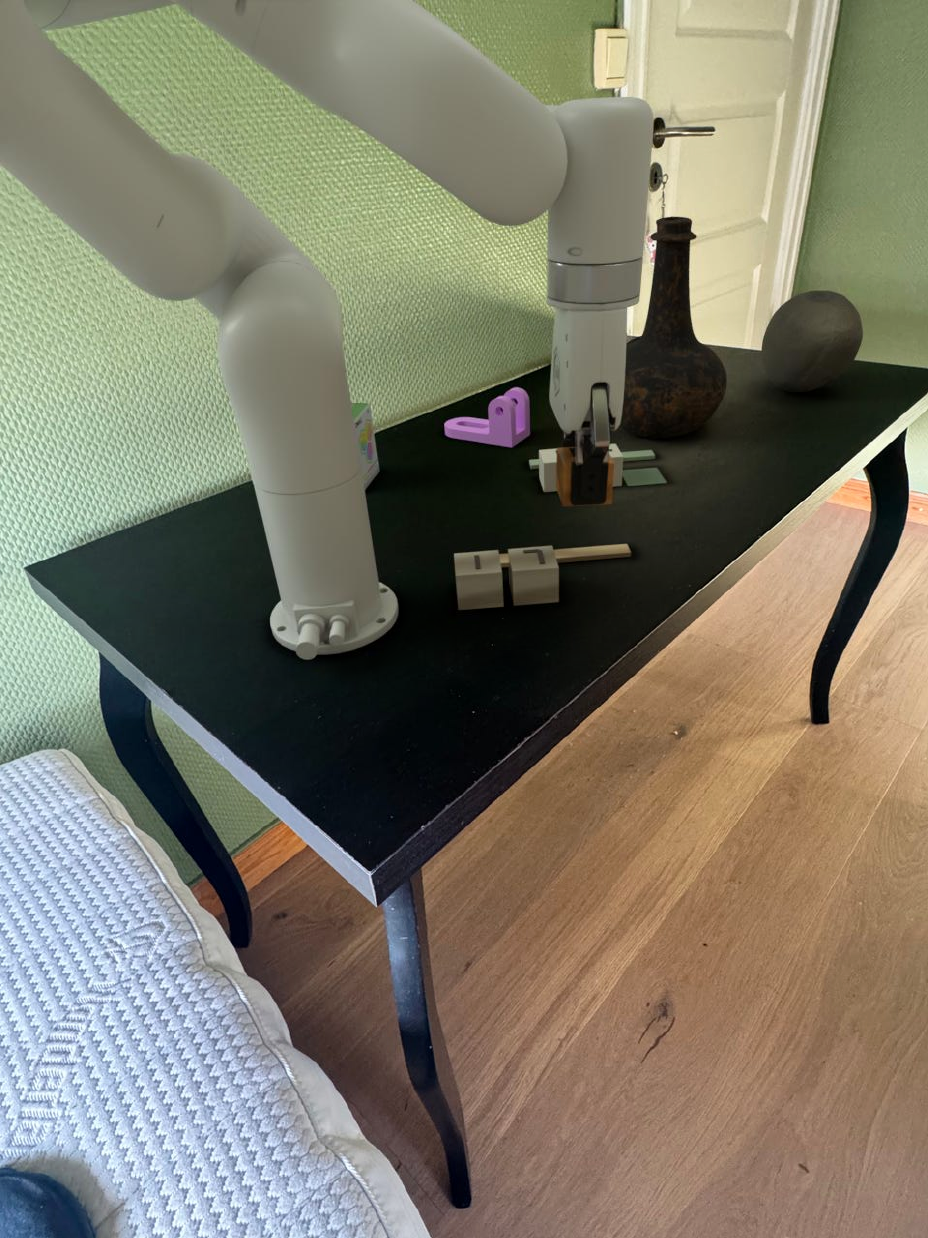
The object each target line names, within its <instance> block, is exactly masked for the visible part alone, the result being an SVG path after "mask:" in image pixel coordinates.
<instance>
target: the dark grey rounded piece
mask: <svg viewBox="0 0 928 1238" xmlns="http://www.w3.org/2000/svg"><path fill="white" fill-rule="evenodd" d="M863 337H864V330H863V322H862V318H861V314H860V313H859V310H857V308H856V306H855V305H854V304H853V303H852V301H851V300H849V299H848V298H847V297H846V296H844V295H843V294H841V293H839V292H835V291H832V290H808V291H805V292H801V293H799V294H798V293H797V294H796V295H794V296H792V297H791V298H790V299H788V300H786V301H785V302H784V303H782V305H781V306H780V307H778V309H777V310H776V311H775V312H774V313H773V315H772V316H771V318H770V320H769V322H768V324H767V326H766V328H765V331H764V335H763V337H762V341H761V348H760V349H761V351H760V352H761V353H760V355H761V361H762V366H763V369H764V371H765V374H766V375H767V378H768V379H769V380H770V382H771V383H772V384H773V385H774V386H775V387H776V388H777V389H780V390H782V391H784V392H788V393H806V392H810V391H814V390H816V389H819V388H821V387H824V386H825V385H827V384H829V383H831V382H832V381H834V380H836V379H837V378H838V377H840V376H841V375H843V373H844V372H846V370H848V368H850V366H851V365H852V364H853V362H854V361H855V359H856V357H857V355H858V353H859V350H860V348H861V346H862V342H863Z"/></svg>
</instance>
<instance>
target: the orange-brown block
mask: <svg viewBox="0 0 928 1238" xmlns="http://www.w3.org/2000/svg"><path fill="white" fill-rule="evenodd" d="M556 449H557V460H556V489H557V491H556V492H557V495H558V497H559V500H560V503H561V505H562V507H563V508H564V507H565V508H567V507H580V506H581V507H583V506H585V505H572V503H571V501H570V491H571V466H572V462H575V447H562V446H561V447H556ZM613 475H614V462H613V460H612V458H611V456H610V455H609V467H608V481H607V495H606V502H605V503H603V504H592V505H591V506H601V505H611V504H612V501H613V488H614V487H613Z"/></svg>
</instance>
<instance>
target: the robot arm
mask: <svg viewBox="0 0 928 1238" xmlns="http://www.w3.org/2000/svg"><path fill="white" fill-rule="evenodd" d="M173 5H176V6H178V8H180V9H182V10H183V11H184V12H186V13H187V14H189V15H190V16H192V17H193V18H195V19H196V20H198V21H199V22H200V23H201V24H203V25H204V26H206V27H207V28H208V29H209V30H211V31H213V32H214V33H216V35H218V36H220V37H221V38H222V39H224V40H225V41H226V42H228V43H229V44H231V45H232V46H233V47H235V48H236V49H237V50H239V51H240V52H242V53H243V54H245V55H246V56H247V57H249V58H250V59H251V60H252V61H254V62H255V63H256V64H258V65H259V66H261V67H262V68H263V69H265V70H267V72H269V73H270V74H272V75H274V76H275V77H276V78H277V79H279V81H281V82H283V83H284V84H285V85H287V86H288V87H289V88H291V89H293V90H294V91H295V92H297V93H298V94H300V95H301V96H302V97H304V99H307V100H308V101H310V102H311V103H312V104H313V105H315V106H316V107H318V108H320V109H321V110H324V111H325V112H328V113H330V114H332V115H335V116H337V117H339V118H341V119H343V120H344V121H346V122H348V123H350V124H351V125H353V126H354V127H357V128H358V129H360V130H361V131H363V132H364V133H365V134H367V135H369V136H370V137H372V138H373V139H374V140H375V141H377V142H379V143H380V144H381V145H383V146H384V147H386V148H387V149H388V150H390V151H391V152H393V153H394V154H396V155H397V156H399V158H400V159H403V160H404V161H406V162H407V163H408V164H409V165H411V166H412V167H414V168H415V169H417V170H418V171H420V173H422V174H423V175H425V176H426V177H428V178H429V179H431V181H433V182H434V183H436V184H437V185H438V186H440V187H441V188H442V189H444V190H445V191H447V192H448V193H449V194H450V195H452V196H454V197H455V198H456V199H457V200H459V201H460V202H461V203H463V204H464V205H465V206H467V208H469V209H470V210H472V211H474V212H475V213H476V214H477V215H479V216H480V217H481V218H483V219H485V220H486V221H488V222H490V223H492V224H496V225H500V226H503V227H516V226H521V225H525V224H528V223H530V222H533V221H534V220H536V219H538V218H539V217H541V216H543V214H545V213H546V211H547V249H546V251H547V252H546V253H547V254H546V256H547V259H546V297H545V298H546V300H545V301H546V304H547V305H548V306H550V307H553V308H554V309H555V311H554V317H553V318H554V320H553V329H552V344H551V345H552V346H551V348H552V349H551V362H550V365H551V366H550V378H549V379H550V380H549V396H548V397H549V399H548V400H549V405H550V407H551V410H552V412H553V415H554V417H555V419H556V421H557V423H558V425H559V428H560V429H561V431H563V439H564V440H562V445H561V448H562V447H575V462H572V466H571V491H570V501H571V503H572V505H584V506H593V505H592V504H602V505H604V504H603V503H605V502H606V495H607V481H608V467H609V446H610V444H611V436H610V431H611V432H615V431H616V430H617V429H618V428H619V427H620V422H621V416H622V409H623V398H624V384H625V366H626V344H627V340H628V339H627V337H628V330H627V329H628V308H631V307H634V306H637V305H638V304H639V302H640V299H641V298H640V296H641V285H642V273H643V263H644V260H643V259H644V258H643V257H644V248H645V237H646V226H647V225H646V224H647V213H648V202H649V201H648V200H649V189H650V188H649V187H650V176H651V163H652V153H653V139H654V122H655V121H654V113H653V110H652V107H651V106H650V104H649V103H648V102H647V100H644V99H642V98H640V97H633V96H610V97H609V96H608V97H590V98H579V99H572V100H568V101H565V102H563V103H561V104H560V105H554V104H553V105H551V104H550V105H549V104H543V102H541V101H540V100H539V99H538V98H537V97H536V96H535V95H533V93H531V92H530V91H529V90H528V89H527V88H525V87H524V86H523V85H522V84H521V83H519V82H518V81H517V80H516V79H515V78H513V77H512V76H511V75H510V74H508V73H507V72H506V71H505V70H503V68H501V67H500V66H499V65H497V64H496V63H495V62H494V61H493V60H491V59H490V58H489V57H488V56H487V55H485V54H484V53H483V52H482V51H480V49H478V48H477V47H475V46H474V45H473V44H472V43H470V42H469V41H468V40H467V39H465V38H464V37H463V36H462V35H460V34H459V33H457V32H456V31H455V30H454V29H452V27H450V26H448V25H447V24H446V23H445V22H443V21H442V20H441V19H439V18H438V17H437V16H435V14H433V13H431V12H430V11H428V10H427V9H426V8H425V7H423V6H422V5H420V4H418V3H417V2H416V1H415V0H0V166H2V168H4V169H5V170H6V171H7V172H8V173H10V174H11V176H13V177H14V178H15V179H16V180H17V181H19V182H20V183H21V184H22V185H23V186H24V187H25V188H26V189H27V190H28V191H29V192H30V193H31V194H32V195H33V196H35V197H36V199H38V200H39V201H40V202H41V203H42V204H43V205H44V206H45V207H46V208H48V209H49V210H50V211H51V212H52V213H53V214H54V215H55V216H57V217H58V218H59V220H61V221H62V222H63V223H64V224H66V225H67V226H68V227H69V228H70V229H71V230H73V231H74V232H75V233H76V234H77V235H78V236H79V237H81V239H83V240H84V241H85V242H86V243H87V244H88V245H89V246H91V248H93V249H94V250H95V251H96V252H97V253H99V254H100V255H101V256H102V257H103V258H104V259H105V260H106V261H108V262H109V263H110V264H111V265H112V266H113V267H114V268H115V269H116V270H117V271H118V272H120V273H121V274H122V275H123V276H124V277H125V278H126V279H127V280H129V282H130V283H132V284H133V285H134V286H135V287H137V288H138V289H139V290H141V291H143V292H145V293H147V294H148V295H150V296H152V297H155V298H157V299H162V300H165V301H173V302H181V301H188V300H191V299H194V300H195V301H196V302H198V303H199V304H200V305H201V306H202V307H203V308H205V309H206V311H207V312H209V313H210V314H211V315H212V316H213V317H215V318H216V319H217V320H218V321H219V324H218V329H217V339H216V344H217V345H216V350H217V359H218V365H219V370H220V375H221V378H222V382H223V385H224V388H225V391H226V393H227V396H228V399H229V403H230V405H231V409H232V411H233V414H234V417H235V420H236V423H237V426H238V429H239V433H240V436H241V437H240V438H241V441H242V444H243V447H244V452H245V455H246V459H247V464H248V468H249V473H250V476H251V480H252V484H253V488H254V491H255V496H256V499H257V504H258V508H259V512H260V517H261V520H262V526H263V528H264V529H263V530H264V533H265V534H264V535H265V538H266V542H267V547H268V549H269V550H268V551H269V555H270V559H271V562H272V567H273V570H274V571H273V572H274V576H275V579H276V584H277V588H278V591H279V596H280V601H279V602H278V603H277V604H276V605H275V606H274V608H273V609H272V611H271V613H270V617H269V625H270V628H271V632H272V636H273V637H274V639H275V640H276V642H278V643H279V644H280V645H281V646H283V647H285V648H287V649H289V650H291V651H294V652H295V654H296V656H298V657H299V659H302V660H305V661H306V660H309V661H311V660H313V659H315V658H316V657H317V656H318V655H320V656H321V655H324V656H325V655H335V654H341V653H346V652H351V651H354V650H356V649H357V650H358V649H359V648H360V649H361V648H362V647H366V646H367V645H369V644H371V643H374V642H376V641H377V640H378V639H380V638H381V637H383V636H385V635H386V633H387V632H388V631H390V630H391V629H392V628H393V626H394V625H395V624H396V621H397V619H398V617H399V602H398V598H397V596H396V594H395V592H394V591H393V590H392V589H391V588H390V587H389V586H387V585H386V584H384V583H382V582H379V576H378V569H377V563H376V555H375V548H374V543H373V536H372V535H373V534H372V530H371V521H370V516H369V510H368V503H367V497H366V490H365V489H364V482H363V476H362V469H361V463H360V457H359V451H358V443H357V438H356V431H355V425H354V419H353V412H352V406H351V403H352V402H351V401H352V400H351V396H350V389H349V384H348V375H347V366H346V357H345V349H344V325H343V321H344V319H343V312H342V311H343V310H342V306H341V304H340V300H339V298H338V295H337V293H336V291H335V289H334V287H333V286H332V284H331V283H330V281H329V280H328V278H327V277H326V276H325V275H324V274H323V273H322V271H320V270H319V268H318V267H317V266H316V265H314V263H313V262H312V261H311V260H310V259H309V258H308V257H307V256H306V255H305V254H304V253H303V252H302V251H301V250H300V249H299V248H298V247H297V246H296V245H295V244H294V243H293V242H292V241H291V240H290V239H289V238H288V237H287V236H286V235H285V234H284V233H283V232H282V231H281V230H280V229H279V228H278V227H277V226H276V225H275V224H274V223H273V222H272V221H271V220H270V219H269V218H268V217H267V216H266V215H265V214H264V213H263V212H262V211H261V210H260V208H258V207H257V206H256V205H255V203H253V202H252V201H251V200H250V199H249V198H248V197H247V196H246V195H245V194H244V193H243V192H242V191H241V189H239V188H238V187H237V185H235V184H234V183H233V182H232V181H231V180H230V179H229V178H227V177H226V176H225V175H224V174H222V173H221V171H219V170H218V169H216V168H215V167H213V166H212V165H211V164H209V163H207V162H205V161H203V160H202V159H200V158H197V157H195V156H193V155H188V154H185V153H180V152H179V153H178V152H170V151H168V150H167V149H165V147H163V146H162V145H161V144H160V143H159V142H157V141H156V140H155V139H154V138H153V137H152V136H151V135H150V134H149V133H147V131H145V130H144V129H143V127H141V126H140V125H139V124H138V123H137V122H136V121H135V120H134V119H133V118H131V116H129V114H128V113H126V111H124V109H122V107H120V106H119V104H117V102H115V100H114V99H113V98H112V97H111V95H109V94H108V93H107V91H106V90H104V88H103V87H102V86H101V85H100V84H99V83H97V81H95V79H94V78H93V77H91V76H90V75H89V73H87V72H86V71H85V70H84V69H83V68H82V67H80V66H79V65H78V64H76V62H75V61H73V60H72V59H71V58H70V57H69V56H68V55H66V54H65V53H64V52H63V51H62V50H61V49H60V48H59V47H58V46H57V45H56V44H55V42H53V41H52V40H51V39H50V38H49V37H48V36H47V34H46V33H45V32H47V31H55V30H62V29H66V28H67V29H68V28H71V27H75V26H82V25H85V24H90V23H96V22H100V21H105V20H109V19H114V18H118V17H119V18H120V17H125V16H129V15H135V14H139V13H144V12H149V11H153V10H157V9H161V8H165V7H169V6H173Z"/></svg>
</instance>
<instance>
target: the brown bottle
mask: <svg viewBox="0 0 928 1238" xmlns="http://www.w3.org/2000/svg"><path fill="white" fill-rule="evenodd" d="M655 224H656V232H654V233H651V235H650V239H651V240H653V241H654V242H655V251H654V252H655V253H654V263H653V270H652V271H653V272H652V278H651V279H652V280H651V288H650V296H649V302H648V309H647V314H646V318H645V323H644V327H643V331H642V333H641V335H640V336H637V337H635V338H632V339H631V340H629V341H628V342H626V366H625V384H624V398H623V409H622V416H621V422H620V426H619V427H620V428H621V429H622V430H624V431H626V432H627V433H629V434H632V435H634V436H637V437H643V438H650V439H667V438H673V437H679V436H683V435H687V434H689V433H691V432H693V431H695V430H697V429H699V428H700V427H702V426H703V425H705V424H706V423H707V422H708V421H709V420H710V419H711V418H712V417H713V416H714V415H715V413H716V412H717V410H718V409H719V407H720V406H721V404H722V402H723V400H724V397H725V394H726V391H727V382H728V381H727V380H728V379H727V371H726V369H725V366H724V363H723V361H722V360H721V358H720V356H718V354H717V353H716V352H715V351H714V350H713V349H712V348H710V347H709V346H707V345H705V344H704V343H702V342H700V341H699V340H698V339H697V336H696V333H695V330H694V327H693V320H692V312H691V297H690V296H691V292H690V291H691V288H690V267H691V266H690V262H691V261H690V260H691V259H690V258H691V241H693V240H696V239H697V237H698V236H697V234H695V233H694V232H693V231H692V225H693V220H692V219H691V217H690V218H689V217H687V216H686V217H685V216H666V217H660V218H659V219H656V221H655Z"/></svg>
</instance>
